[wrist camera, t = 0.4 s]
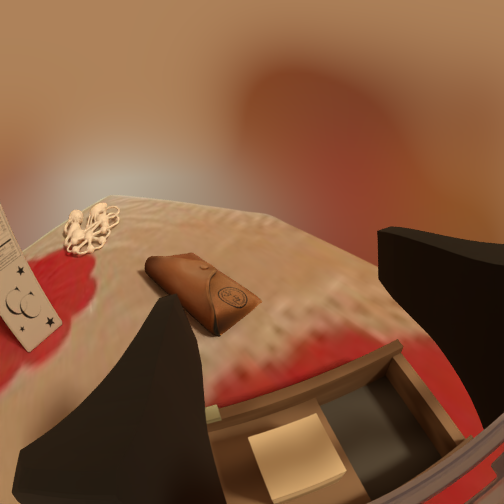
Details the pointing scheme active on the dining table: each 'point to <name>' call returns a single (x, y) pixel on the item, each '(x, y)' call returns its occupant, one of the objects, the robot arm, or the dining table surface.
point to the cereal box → (22, 294)
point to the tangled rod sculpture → (80, 236)
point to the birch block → (296, 459)
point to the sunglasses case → (202, 290)
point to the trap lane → (342, 430)
